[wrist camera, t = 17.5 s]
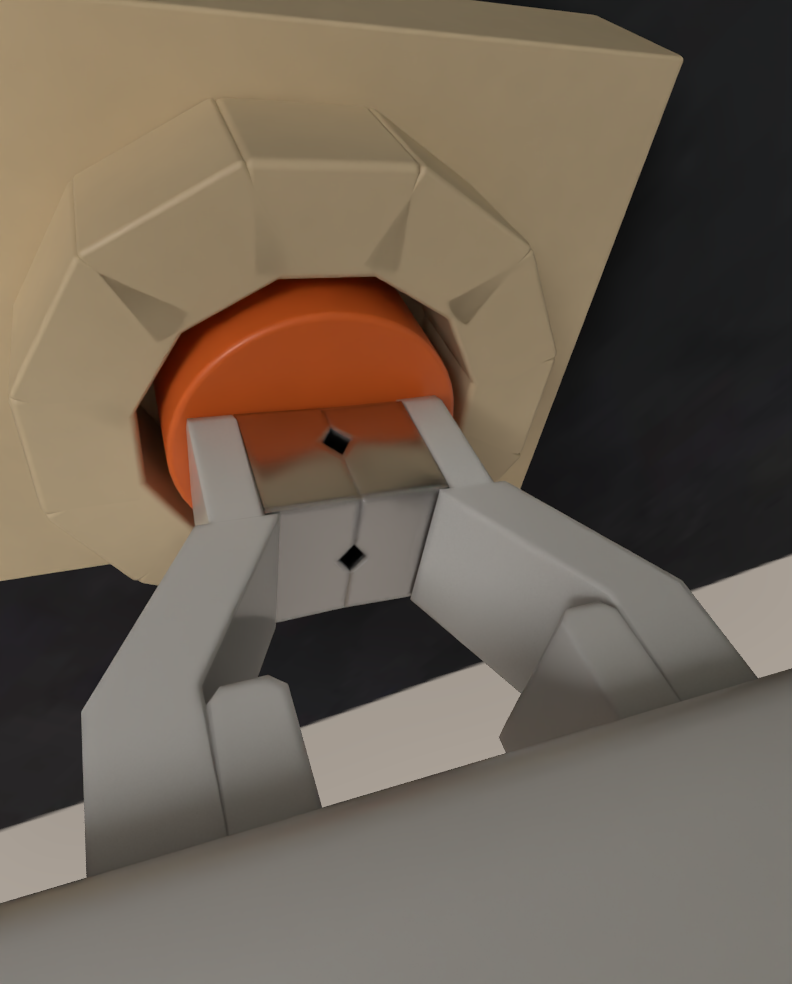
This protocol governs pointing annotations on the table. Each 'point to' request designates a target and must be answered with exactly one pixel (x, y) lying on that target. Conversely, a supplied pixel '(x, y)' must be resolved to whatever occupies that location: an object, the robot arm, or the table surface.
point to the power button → (296, 358)
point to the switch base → (288, 218)
